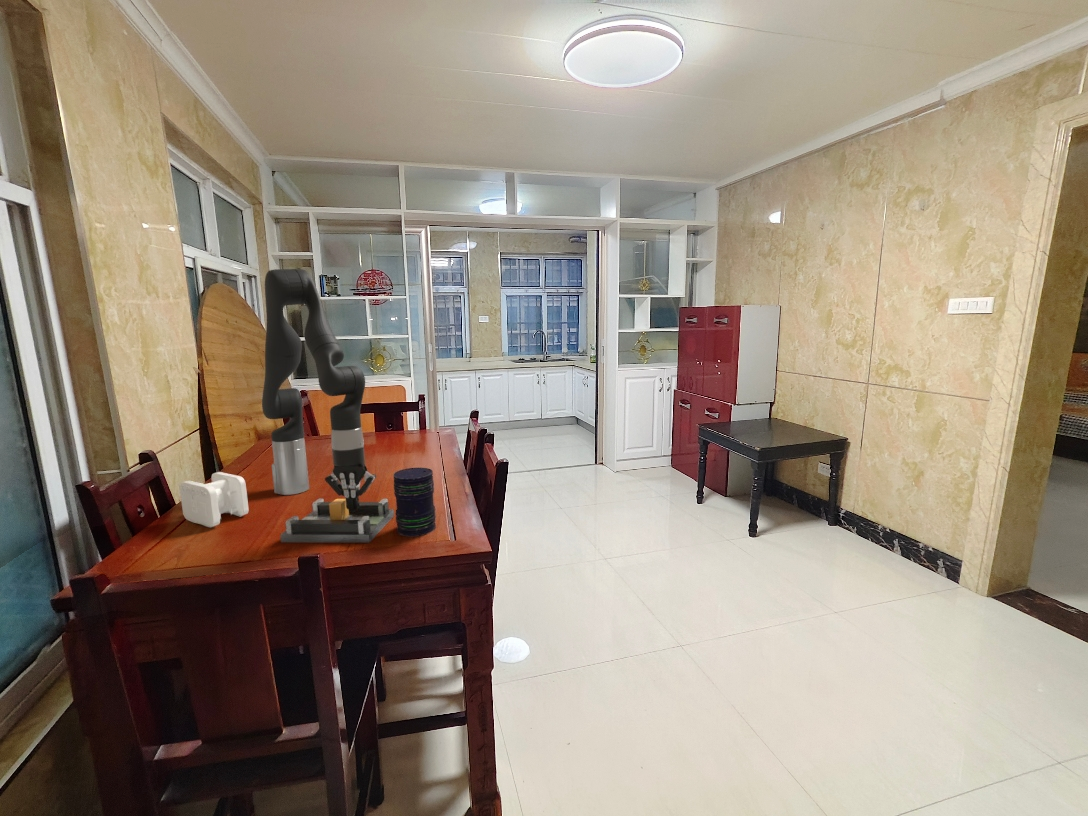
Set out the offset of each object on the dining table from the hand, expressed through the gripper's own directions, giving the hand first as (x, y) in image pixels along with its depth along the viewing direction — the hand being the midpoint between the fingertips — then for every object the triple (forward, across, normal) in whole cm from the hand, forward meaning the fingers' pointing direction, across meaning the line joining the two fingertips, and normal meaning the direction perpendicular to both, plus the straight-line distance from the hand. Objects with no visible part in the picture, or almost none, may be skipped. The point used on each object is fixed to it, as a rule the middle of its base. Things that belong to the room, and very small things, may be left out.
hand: (353, 510), depth 125 cm
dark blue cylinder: (+5, +16, 0) cm, 17 cm away
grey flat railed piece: (+5, -4, 0) cm, 6 cm away
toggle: (+3, -4, 0) cm, 4 cm away
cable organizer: (+5, -42, +6) cm, 42 cm away
